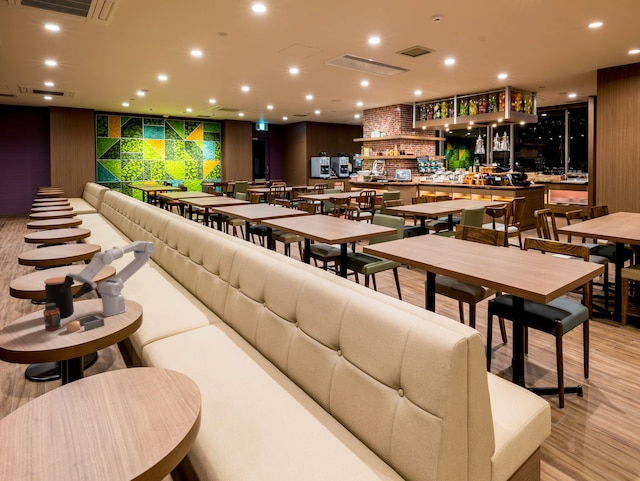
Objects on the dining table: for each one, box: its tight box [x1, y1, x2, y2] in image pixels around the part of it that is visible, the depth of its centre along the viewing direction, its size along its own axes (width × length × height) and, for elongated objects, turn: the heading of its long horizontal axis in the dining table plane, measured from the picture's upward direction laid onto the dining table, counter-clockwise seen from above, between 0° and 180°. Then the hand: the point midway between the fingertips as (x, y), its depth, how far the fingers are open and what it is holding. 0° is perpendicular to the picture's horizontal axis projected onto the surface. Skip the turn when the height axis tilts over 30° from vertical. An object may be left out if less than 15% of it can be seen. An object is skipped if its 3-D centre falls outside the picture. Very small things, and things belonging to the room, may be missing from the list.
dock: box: [75, 314, 105, 331], centre depth 190 cm, size 8×9×3 cm
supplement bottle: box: [42, 303, 62, 332], centre depth 185 cm, size 6×6×11 cm
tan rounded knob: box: [65, 320, 81, 333], centre depth 184 cm, size 5×5×4 cm
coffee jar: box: [43, 276, 75, 320], centre depth 201 cm, size 11×11×18 cm
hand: (68, 294), depth 184 cm, fingers open, 7 cm apart
